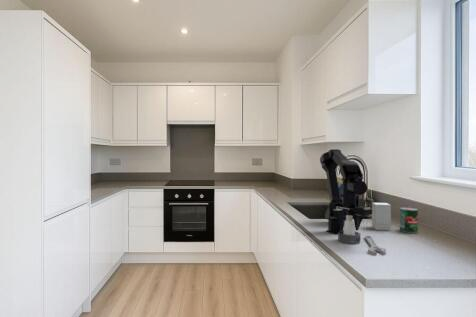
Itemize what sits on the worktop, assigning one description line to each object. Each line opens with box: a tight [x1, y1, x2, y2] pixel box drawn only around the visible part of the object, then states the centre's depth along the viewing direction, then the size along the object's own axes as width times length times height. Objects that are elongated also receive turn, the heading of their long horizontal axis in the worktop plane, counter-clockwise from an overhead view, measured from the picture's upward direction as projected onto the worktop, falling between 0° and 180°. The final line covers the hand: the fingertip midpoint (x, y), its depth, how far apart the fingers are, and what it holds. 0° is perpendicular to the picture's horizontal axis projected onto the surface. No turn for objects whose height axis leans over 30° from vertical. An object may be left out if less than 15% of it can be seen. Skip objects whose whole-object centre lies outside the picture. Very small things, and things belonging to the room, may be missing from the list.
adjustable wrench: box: [364, 235, 387, 256], centre depth 126 cm, size 25×6×2 cm, turn 161°
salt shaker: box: [343, 214, 356, 235], centre depth 133 cm, size 5×5×11 cm
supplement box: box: [371, 202, 392, 231], centre depth 157 cm, size 7×7×13 cm
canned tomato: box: [399, 206, 419, 234], centre depth 152 cm, size 8×8×11 cm
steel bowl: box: [337, 229, 361, 245], centre depth 133 cm, size 9×9×4 cm
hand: (349, 228), depth 133 cm, fingers open, 8 cm apart
